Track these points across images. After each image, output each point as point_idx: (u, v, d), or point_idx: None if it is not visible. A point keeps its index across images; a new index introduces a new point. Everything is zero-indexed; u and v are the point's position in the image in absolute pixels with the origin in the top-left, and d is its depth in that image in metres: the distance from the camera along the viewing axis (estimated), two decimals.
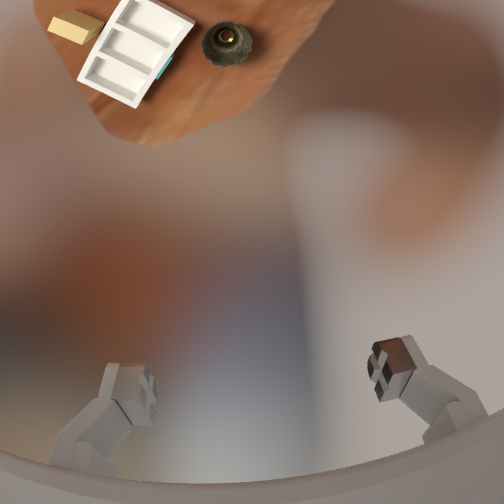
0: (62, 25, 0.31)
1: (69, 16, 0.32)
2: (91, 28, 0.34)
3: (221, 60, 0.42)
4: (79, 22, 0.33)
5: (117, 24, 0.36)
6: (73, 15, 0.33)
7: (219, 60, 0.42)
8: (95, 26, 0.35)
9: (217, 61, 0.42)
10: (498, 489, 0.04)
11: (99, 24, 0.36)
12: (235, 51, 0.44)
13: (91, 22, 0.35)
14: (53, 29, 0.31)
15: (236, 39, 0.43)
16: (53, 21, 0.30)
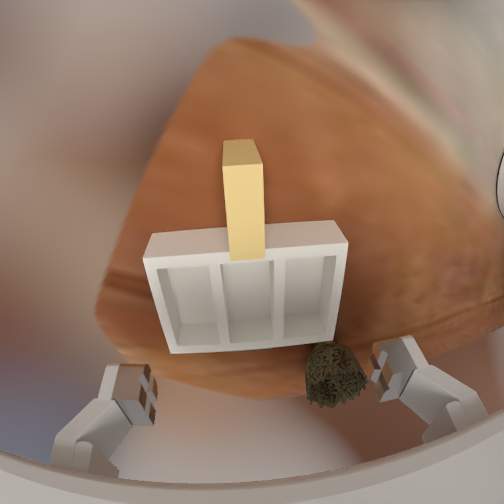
0: (251, 197, 0.20)
1: None
2: None
3: None
4: None
5: (283, 264, 0.28)
6: None
7: None
8: None
9: (308, 391, 0.35)
10: (498, 489, 0.04)
11: None
12: None
13: None
14: (231, 181, 0.20)
15: None
16: (250, 169, 0.19)
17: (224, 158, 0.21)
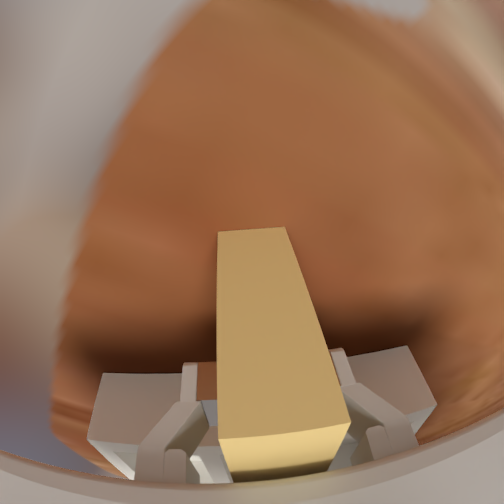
0: (300, 466, 0.06)
1: None
2: None
3: None
4: None
5: None
6: None
7: None
8: None
9: None
10: (498, 489, 0.04)
11: None
12: None
13: None
14: (249, 455, 0.06)
15: None
16: (310, 436, 0.05)
17: (222, 362, 0.07)
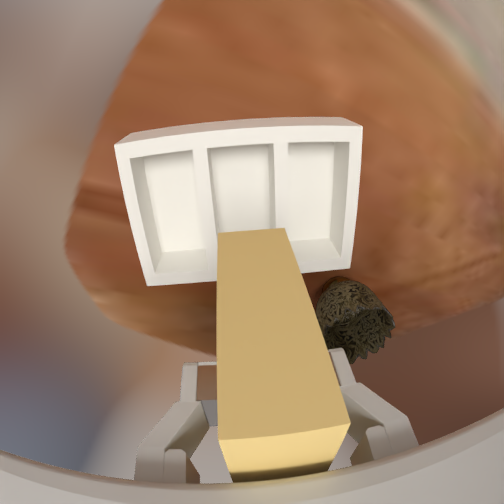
0: (299, 467, 0.06)
1: None
2: None
3: None
4: None
5: (285, 149, 0.21)
6: None
7: None
8: None
9: None
10: (498, 489, 0.04)
11: None
12: None
13: None
14: (249, 456, 0.06)
15: None
16: (310, 437, 0.05)
17: (222, 363, 0.07)
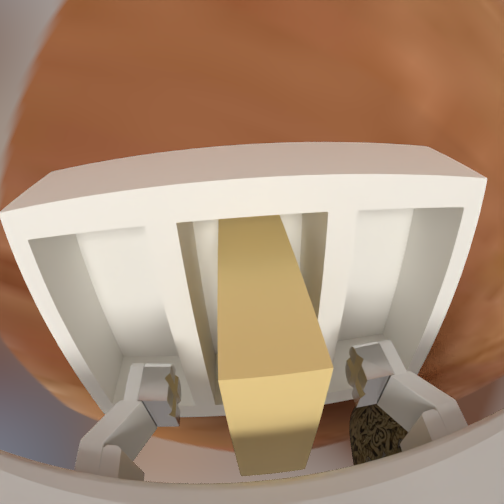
0: (291, 420, 0.08)
1: None
2: None
3: None
4: None
5: (351, 225, 0.10)
6: None
7: None
8: None
9: None
10: (498, 489, 0.04)
11: None
12: None
13: None
14: (245, 402, 0.07)
15: None
16: (298, 381, 0.07)
17: (222, 319, 0.08)
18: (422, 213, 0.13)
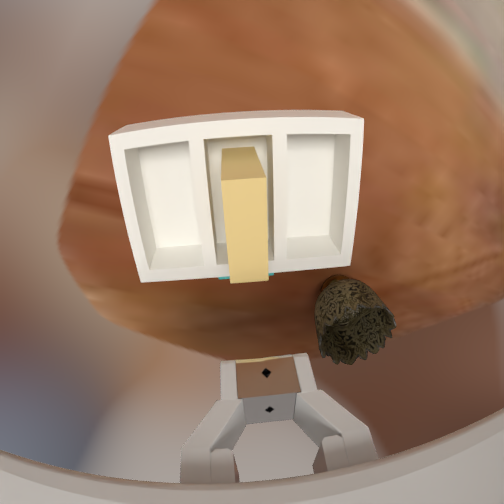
0: (253, 215, 0.18)
1: None
2: None
3: None
4: None
5: (284, 141, 0.21)
6: None
7: None
8: None
9: None
10: (498, 489, 0.04)
11: None
12: None
13: None
14: (231, 196, 0.18)
15: None
16: (252, 184, 0.17)
17: (223, 170, 0.19)
18: (337, 146, 0.24)
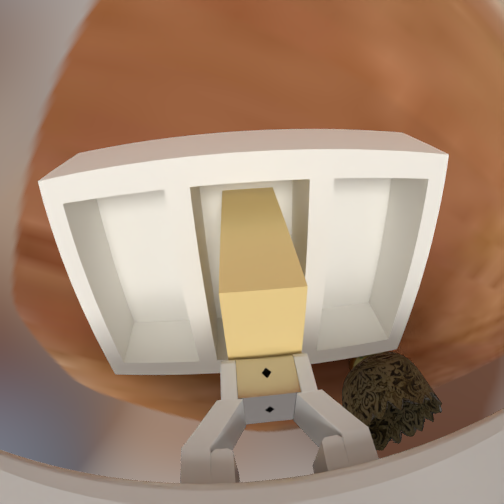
0: (278, 342, 0.10)
1: None
2: None
3: None
4: None
5: (329, 190, 0.12)
6: None
7: None
8: None
9: None
10: (498, 489, 0.04)
11: None
12: None
13: None
14: (239, 318, 0.09)
15: None
16: (281, 297, 0.09)
17: (223, 256, 0.10)
18: (397, 188, 0.15)
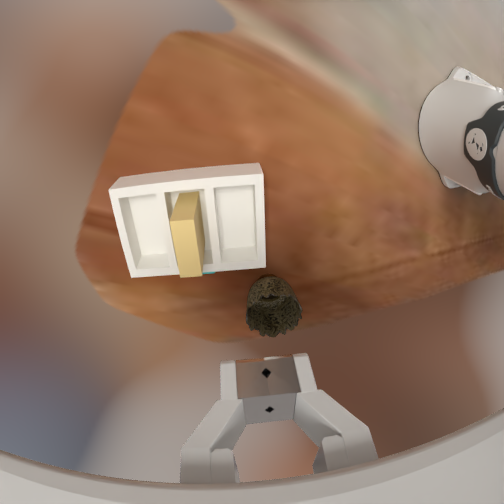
0: (188, 239, 0.33)
1: (197, 220, 0.35)
2: (202, 265, 0.37)
3: (250, 315, 0.43)
4: (199, 244, 0.36)
5: (212, 192, 0.35)
6: (198, 216, 0.36)
7: (249, 314, 0.43)
8: (203, 256, 0.38)
9: (248, 317, 0.42)
10: (498, 489, 0.04)
11: (204, 248, 0.40)
12: (263, 308, 0.47)
13: (202, 240, 0.39)
14: (175, 229, 0.32)
15: (273, 297, 0.47)
16: (186, 222, 0.32)
17: (173, 213, 0.33)
18: (253, 189, 0.38)
